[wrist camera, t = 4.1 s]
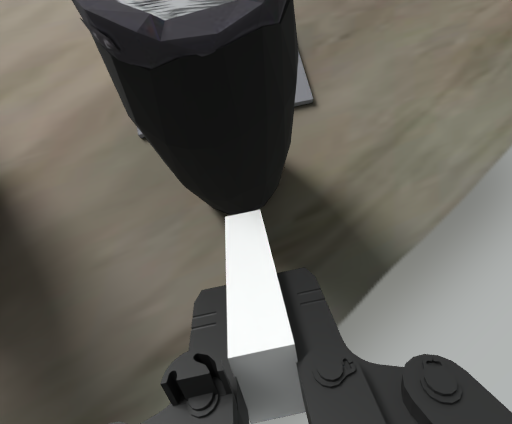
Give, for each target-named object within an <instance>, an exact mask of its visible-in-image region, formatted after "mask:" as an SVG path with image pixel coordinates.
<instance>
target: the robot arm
mask: <svg viewBox="0 0 512 424" xmlns="http://www.w3.org/2000/svg"><path fill="white" fill-rule="evenodd" d="M225 239H226V285H224V286H219V287H215V288H210V289H205V290H202V291H201V292H200V294H199V296H198V297H197V299H196V301H195V303H194V310H193V319H192V327H191V328H192V331H191V336H190V344H189V351H188V352H186V353H183V354H182V355H181V356H179V357H178V358H177V359H175V360H174V361H173V362H172V363H171V364H170V366H169V367H168V368H167V370H166V371H165V373H164V376H163V378H162V381H161V386H162V388H163V389H164V391H165V393H166V395H167V397H168V398H169V400H170V402H171V404H170V405H169V406H168V407H167V408H165V409H164V410H162V411H161V412H159V413H158V414H156V415H154V416H153V417H151V418H149V419H147V420H146V421H144V422H142V423H140V424H249V419H250V422H251V424H253V423H257V422H262V421H266V420H271V419H276V418H280V417H285V416H290V415H294V414H298V413H303V412H306V414H307V418H308V422H309V424H512V413H511V412H510V411H509V410H508V409H507V408H506V407H505V406H504V405H503V404H502V403H501V402H499V401H498V400H497V399H496V398H495V397H494V396H493V395H492V394H491V393H490V392H489V391H487V390H486V389H485V388H484V387H483V386H482V385H481V384H480V383H479V382H478V381H476V380H475V379H474V378H473V377H472V376H471V375H470V374H469V373H468V372H467V371H466V370H464V369H463V368H461V367H460V366H458V365H457V364H456V363H454V362H453V361H451V360H448V359H446V358H443V357H440V356H438V355H428V354H427V355H426V354H423V355H419V356H416V357H413V358H412V359H411V360H409V361H408V362H407V363H406V364H405V367H397V366H388V365H379V364H374V363H370V362H367V361H365V360H363V359H361V358H359V357H358V356H356V355H355V354H353V353H352V352H351V351H350V350H349V349H348V348H347V346H346V345H345V343H344V341H343V340H342V337H341V335H340V333H339V330H338V328H337V326H336V323H335V321H334V319H333V316H332V314H331V312H330V309H329V307H328V305H327V303H326V301H325V298H324V296H323V293H322V291H321V289H320V286H319V284H318V282H317V279H316V277H315V276H314V275H313V274H312V273H311V272H310V271H308V270H307V269H306V268H305V267H304V268H299V269H295V270H290V271H285V272H281V273H276V269H275V265H274V262H273V258H272V254H271V250H270V246H269V242H268V238H267V234H266V230H265V226H264V223H263V219H262V215H261V211H260V210H255V211H250V212H246V213H241V214H236V215H232V216H227V217H225ZM109 424H126V423H123V422H114V423H109Z"/></svg>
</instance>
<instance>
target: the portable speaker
mask: <svg viewBox="0 0 512 424" xmlns="http://www.w3.org/2000/svg"><path fill="white" fill-rule="evenodd" d="M72 1H73V3H74V5H75V6H76V8H77V10H78V12H79V13H80V15H81V17H82V18H83V20H82V19H81V18H80V19H81V20H82V21H83V23H84V24H85V25H86V27H87V28H88V29H89V31H90V32H91V34H92V37H93V39H94V41H95V43H96V45H97V48H98V50H99V52H100V54H101V56H102V59H103V61H104V63H105V65H106V67H107V70H108V72H109V74H110V76H111V78H112V81H113V83H114V85H115V87H116V89H117V92H118V94H119V96H120V98H121V100H122V103H123V105H124V107H125V109H126V111H127V114H128V116H129V117H130V118H131V120H132V121H133V122H134V123H135V125H136V126H137V127H138V129H139V130H140V131H141V132H142V134H143V135H144V136H145V138H146V139H147V140H148V141H149V143H150V144H151V145H152V147H153V148H154V149H155V150H156V152H157V153H158V154H159V156H160V157H161V158H162V160H163V161H164V162H165V163H166V165H167V166H168V167H169V168H170V170H171V171H172V172H173V173H174V174H175V176H176V177H177V178H178V179H179V181H180V182H181V183H182V184H183V185H184V186H185V187H186V188H187V189H189V190H190V191H191V192H193V193H194V194H195V195H197V196H198V197H199V198H201V199H202V200H203V201H205V202H206V203H207V204H209V205H210V206H211V207H213V208H214V209H217V210H220V211H222V212H225V213H227V214H232V215H236V214H241V213H246V212H250V211H255V210H257V209H259V208H261V207H263V206H264V205H265V203H266V202H267V201H268V199H269V198H270V197H271V196H272V194H273V193H274V191H275V190H276V188H277V186H278V184H279V181H280V177H281V174H282V170H283V167H284V164H285V160H286V157H287V153H288V150H289V147H290V143H291V133H292V124H293V114H294V104H295V94H296V84H297V71H298V57H299V52H298V43H297V33H296V23H295V14H294V4H293V0H72ZM284 168H285V167H284Z"/></svg>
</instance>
